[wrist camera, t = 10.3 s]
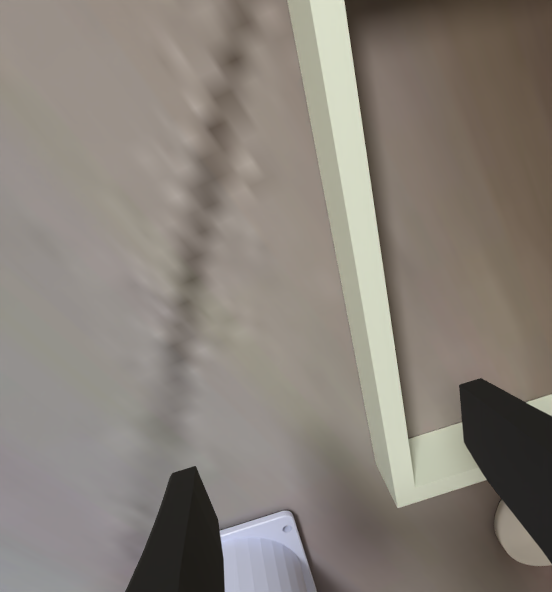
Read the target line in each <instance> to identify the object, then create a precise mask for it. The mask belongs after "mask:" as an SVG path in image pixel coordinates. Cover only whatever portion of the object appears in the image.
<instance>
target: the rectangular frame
mask: <svg viewBox="0 0 552 592" xmlns="http://www.w3.org/2000/svg"><path fill="white" fill-rule="evenodd" d="M287 2H288V7H289V12H290V17H291V22H292V28H293V33H294V38H295V43H296V49H297V54H298V59H299V64H300V70H301V75H302V80H303V85H304V91H305V96H306V101H307V106H308V112H309V117H310V122H311V127H312V133H313V138H314V143H315V148H316V153H317V159H318V164H319V169H320V174H321V180H322V185H323V190H324V195H325V201H326V206H327V211H328V216H329V222H330V227H331V232H332V237H333V243H334V248H335V253H336V258H337V264H338V269H339V274H340V279H341V284H342V290H343V295H344V300H345V305H346V311H347V316H348V321H349V326H350V332H351V337H352V342H353V347H354V353H355V358H356V363H357V368H358V374H359V379H360V384H361V389H362V395H363V400H364V405H365V410H366V415H367V421H368V426H369V431H370V436H371V442H372V447H373V452H374V457H375V463H376V465H377V467H378V469H379V471H380V473H381V475H382V477H383V479H384V482H385V484H386V486H387V488H388V490H389V492H390V494H391V496H392V498H393V500H394V502H395V504H396V506H397V508H400V507H403V506H407V505H410V504H413V503H416V502H419V501H422V500H425V499H428V498H432V497H435V496H438V495H441V494H444V493H447V492H450V491H453V490H457V489H460V488H463V487H466V486H469V485H472V484H475V483H478V482H482V481H485V480H487V479H486V478H485V477H484V475H483V473H482V472H481V470H480V469H479V467H478V465H477V464H476V462H475V461H474V459H473V457H472V455H471V454H470V452H469V450H468V449H467V447H466V445H465V443H464V439H463V426H462V422H461V423H458V424H455V425H451V426H448V427H445V428H442V429H439V430H435V431H432V432H429V433H426V434H423V435H419V436H416V437H413V438H410V439H408V435H407V428H406V421H405V414H404V407H403V400H402V393H401V387H400V380H399V373H398V366H397V359H396V352H395V345H394V339H393V332H392V325H391V318H390V311H389V304H388V297H387V291H386V284H385V277H384V270H383V263H382V256H381V249H380V243H379V236H378V229H377V222H376V215H375V208H374V201H373V195H372V188H371V181H370V174H369V167H368V160H367V153H366V147H365V140H364V133H363V126H362V119H361V112H360V106H359V99H358V92H357V85H356V78H355V71H354V64H353V58H352V51H351V44H350V37H349V30H348V23H347V16H346V10H345V3H344V0H287ZM526 403H528V404H529V405H531V406H533V407H535V408H537V409H539V410H541V411H543V412H545V413H547V414H549V415H551V416H552V394H551V395H548V396H544V397H541V398H538V399H535V400H532V401H528V402H526Z"/></svg>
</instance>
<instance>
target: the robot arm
mask: <svg viewBox="0 0 552 592" xmlns="http://www.w3.org/2000/svg"><path fill="white" fill-rule="evenodd" d="M459 388H460V401H461V413H462V426H463V439H464V443H465V445H466V447H467V449H468V450H469V452H470V454H471V455H472V457H473V459H474V461H475V462H476V464H477V465H478V467H479V469H480V470H481V472H482V473H483V475H484V477H485V478H486V479H487V481H488V482H489V483H490V485H491V486H492V487H493V488H494V490H495V491H496V492H497V494H498V495H499V496H500V497H501V499H502V500H503V501H504V503H505V504H506V505H507V506H508V508H509V509H510V510H511V512H512V513H513V514H514V515H515V517H516V518H517V519H518V520H519V522H520V523H521V524H522V526H523V527H524V528H525V529H526V531H527V532H528V533H529V535H530V536H531V537H532V538H533V540H534V541H535V542H536V543H537V545H538V546H539V547H540V549H541V550H542V551H543V553H544V554H545V555H546V557H547V558H548V560H549V561H550V562H551V564H552V416H551V415H549V414H547V413H545V412H543V411H541V410H539V409H537V408H535V407H533V406H531V405H529V404H528V403H526V402H524V401H522V400H520V399H518V398H516V397H515V396H513V395H511V394H509V393H507V392H505V391H504V390H502V389H500V388H498V387H496V386H495V385H493V384H491V383H489V382H487V381H485V380H483V379H481V378H480V379H477V380H474V381H470V382H467V383H464V384H461V385H459ZM125 592H317V590H316V587H315V583H314V580H313V577H312V574H311V571H310V567H309V564H308V561H307V558H306V555H305V551H304V548H303V545H302V542H301V539H300V536H299V532H298V529H297V526H296V523H295V520H294V516H293V514H292V512H290V511H281V512H277V513H274V514H271V515H268V516H265V517H262V518H258V519H255V520H252V521H249V522H246V523H243V524H239V525H236V526H233V527H230V528H227V529H224V530H219V523H218V518H217V516H216V514H215V511H214V509H213V506H212V504H211V502H210V499H209V497H208V494H207V492H206V490H205V487H204V485H203V482H202V480H201V478H200V475H199V473H198V470H197V468H196V466H194V467H191V468H187V469H184V470H181V471H178V472H174V473H172V475H171V476H170V479H169V482H168V485H167V488H166V491H165V494H164V497H163V500H162V503H161V506H160V509H159V512H158V515H157V518H156V520H155V523H154V526H153V528H152V531H151V533H150V536H149V538H148V541H147V543H146V546H145V549H144V551H143V553H142V556H141V558H140V560H139V562H138V565H137V567H136V569H135V571H134V574H133V576H132V578H131V580H130V582H129V585H128V587H127V589H126V591H125Z"/></svg>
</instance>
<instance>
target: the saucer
mask: <svg viewBox="0 0 552 592" xmlns="http://www.w3.org/2000/svg"><path fill="white" fill-rule="evenodd" d="M494 529H495V533H496V536H497V538H498V540H499V541H500V543H501V544H502V546H503V547H504V549H505V550H506V552H507V553H508V554H509V555H510V556H511V557H512V558H513V559H515V560H516V561H518V562H520V563H523V564H527V565H532V566H548V565H552V564H551V562H550V561H549V560H548V558H547V557H546V555H545V554H544V553H543V551H542V550H541V549H540V547H539V546H538V545H537V543H536V542H535V541H534V540H533V538H532V537H531V536H530V535H529V533H528V532H527V531H526V529H525V528H524V527H523V526H522V524H521V523H520V522H519V520H518V519H517V518H516V517H515V515H514V514H513V513H512V512H511V510H510V509H509V508H508V506H507V505H506V504H505V503H504V501H503V500H502V499H501V501H500V503H499V505H498V508H497V510H496V514H495V519H494Z"/></svg>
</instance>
